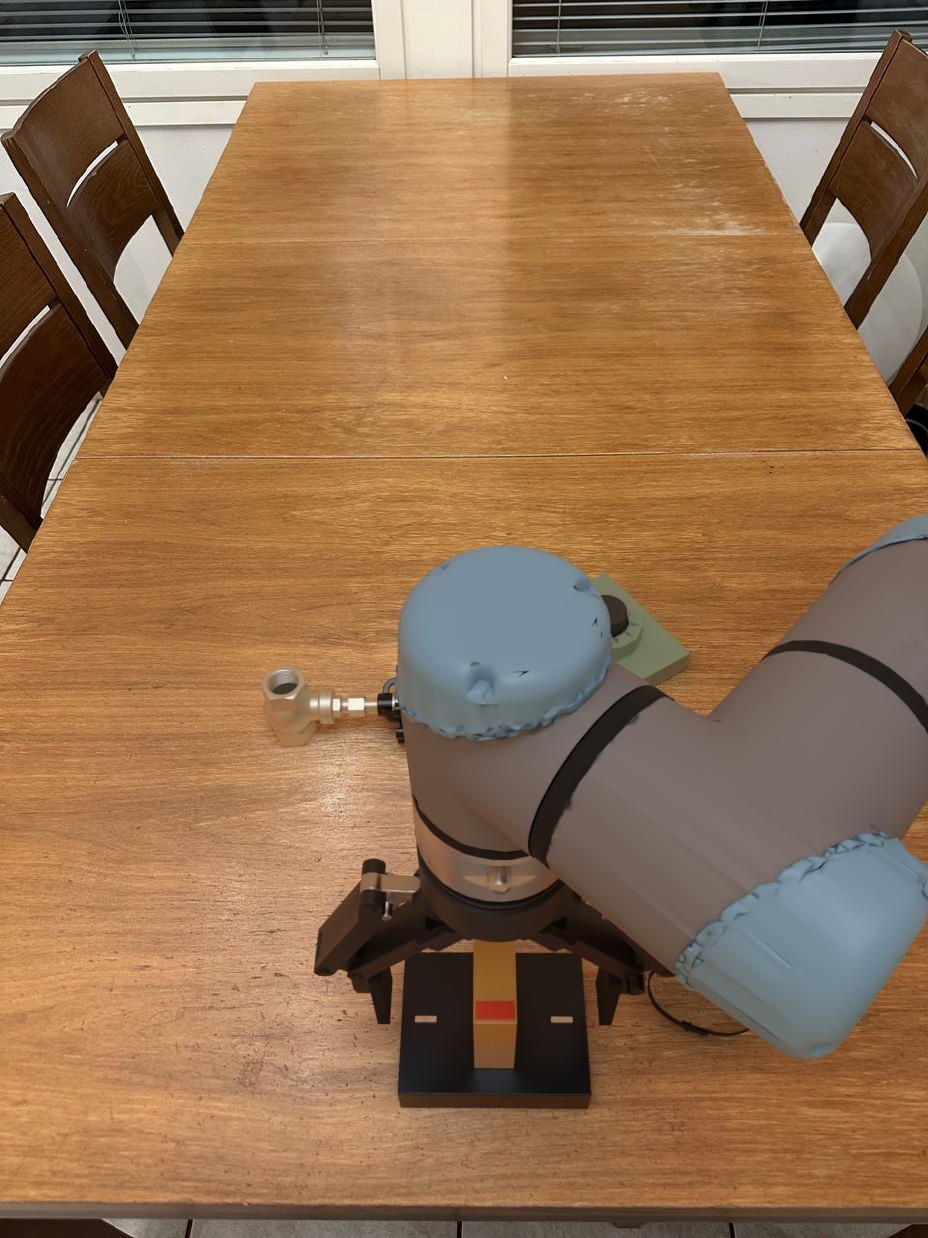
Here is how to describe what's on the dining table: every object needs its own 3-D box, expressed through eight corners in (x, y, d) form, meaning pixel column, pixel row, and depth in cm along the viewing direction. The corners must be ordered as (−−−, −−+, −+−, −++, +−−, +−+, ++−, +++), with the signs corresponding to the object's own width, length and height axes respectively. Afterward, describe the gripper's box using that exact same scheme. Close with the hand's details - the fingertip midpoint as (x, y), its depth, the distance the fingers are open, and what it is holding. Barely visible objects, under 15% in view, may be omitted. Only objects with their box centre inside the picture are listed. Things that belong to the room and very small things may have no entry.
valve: (266, 763, 78) (410, 760, 78) (251, 715, 73) (405, 712, 73) (275, 699, 83) (412, 696, 83) (262, 651, 78) (407, 648, 78)
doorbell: (686, 668, 84) (694, 639, 81) (597, 718, 81) (602, 689, 78) (603, 587, 91) (607, 558, 88) (518, 630, 88) (519, 600, 85)
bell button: (633, 627, 83) (635, 613, 82) (601, 644, 82) (602, 630, 80) (607, 602, 85) (610, 588, 84) (575, 618, 84) (577, 605, 82)
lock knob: (474, 973, 63) (473, 920, 57) (511, 973, 63) (514, 920, 57) (474, 1068, 59) (473, 1022, 53) (514, 1069, 59) (517, 1022, 53)
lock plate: (578, 970, 66) (581, 951, 64) (588, 1109, 60) (592, 1094, 58) (407, 969, 67) (404, 950, 64) (400, 1108, 61) (397, 1093, 58)
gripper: (211, 908, 41) (287, 1065, 57) (789, 910, 40) (704, 1068, 56) (240, 762, 46) (302, 943, 62) (755, 762, 46) (685, 945, 61)
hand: (494, 1003), depth 59 cm, fingers open, 13 cm apart
